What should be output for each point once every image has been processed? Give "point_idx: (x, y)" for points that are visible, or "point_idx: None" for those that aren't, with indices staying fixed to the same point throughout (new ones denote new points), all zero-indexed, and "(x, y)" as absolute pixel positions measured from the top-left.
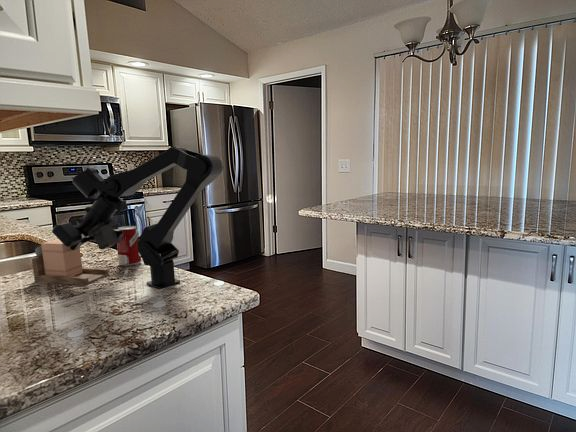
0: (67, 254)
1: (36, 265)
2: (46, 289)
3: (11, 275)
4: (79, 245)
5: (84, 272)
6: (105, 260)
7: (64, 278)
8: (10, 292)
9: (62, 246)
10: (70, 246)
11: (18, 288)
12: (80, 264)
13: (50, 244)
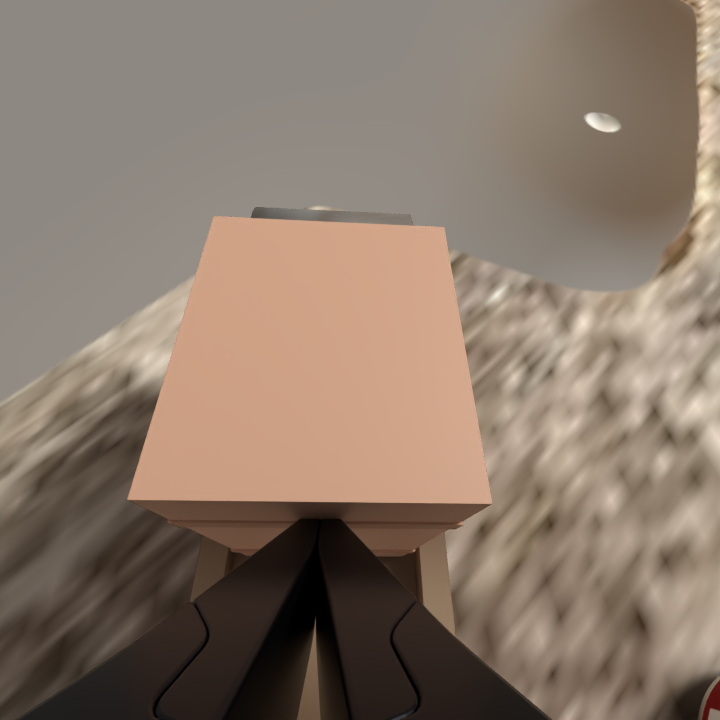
0: (251, 530)
1: None
2: (98, 542)
3: (330, 209)
4: (319, 693)
5: (415, 560)
6: (700, 452)
7: (196, 581)
8: (80, 373)
9: (147, 508)
10: (289, 528)
11: (143, 362)
12: (399, 550)
13: (188, 318)
